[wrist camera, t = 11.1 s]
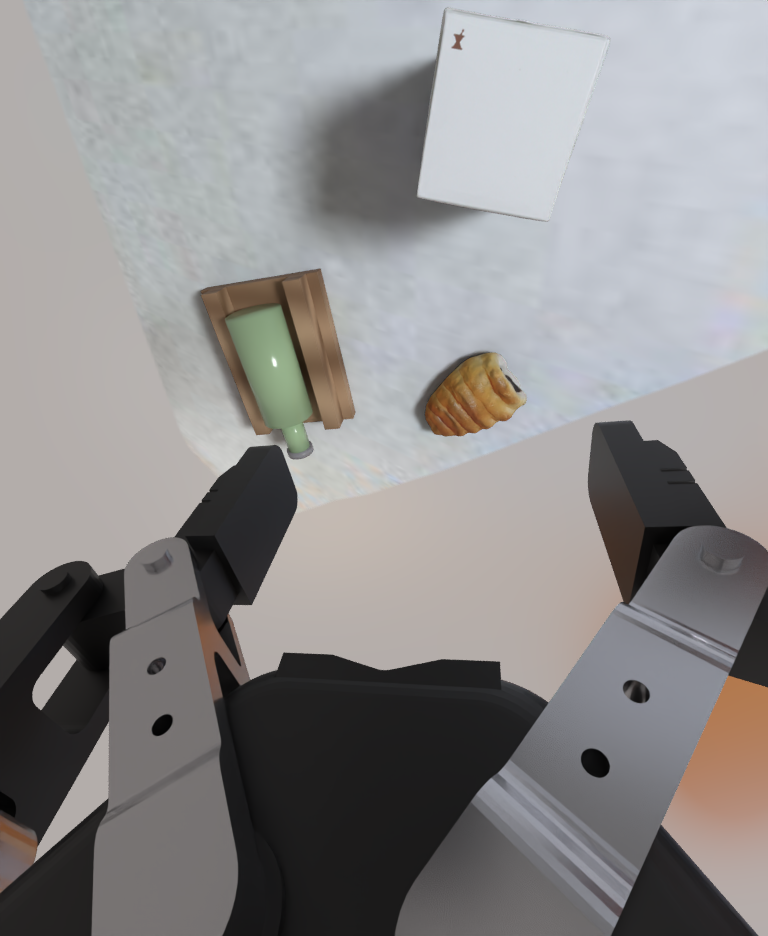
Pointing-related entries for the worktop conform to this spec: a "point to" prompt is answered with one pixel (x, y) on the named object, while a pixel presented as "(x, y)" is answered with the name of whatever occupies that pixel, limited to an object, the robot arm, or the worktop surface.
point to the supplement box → (506, 112)
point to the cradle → (308, 334)
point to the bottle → (273, 372)
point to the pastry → (474, 397)
